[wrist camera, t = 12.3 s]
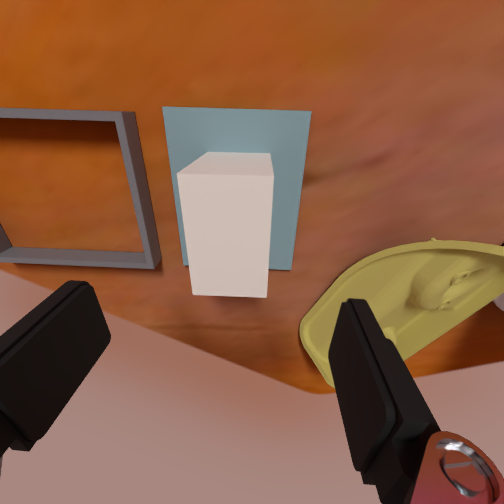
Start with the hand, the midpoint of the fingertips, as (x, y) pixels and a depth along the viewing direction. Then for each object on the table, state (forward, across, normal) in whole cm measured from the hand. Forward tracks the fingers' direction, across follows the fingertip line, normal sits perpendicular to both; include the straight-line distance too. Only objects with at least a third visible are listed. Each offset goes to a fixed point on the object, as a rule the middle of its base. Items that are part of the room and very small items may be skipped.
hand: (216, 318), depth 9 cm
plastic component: (+15, -16, +10) cm, 24 cm away
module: (+14, +1, 0) cm, 14 cm away
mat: (+14, +1, 0) cm, 14 cm away
